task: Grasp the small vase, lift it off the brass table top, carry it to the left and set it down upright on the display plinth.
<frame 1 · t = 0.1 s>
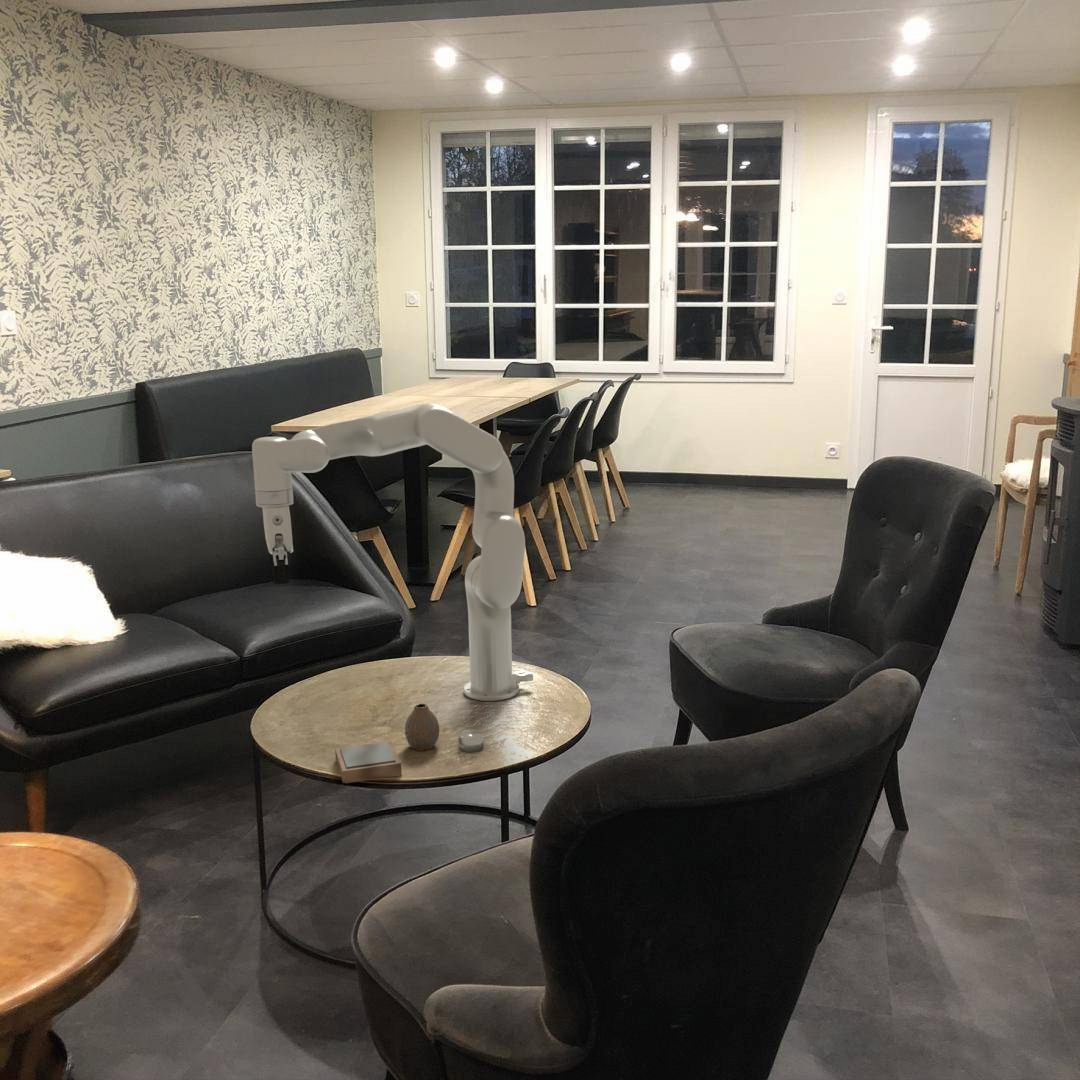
hand: (280, 577, 233), 31 cm above the table, fingers open, 9 cm apart
vase: (422, 747, 224), on the table
tin: (471, 748, 223), on the table
plinth: (368, 767, 214), on the table
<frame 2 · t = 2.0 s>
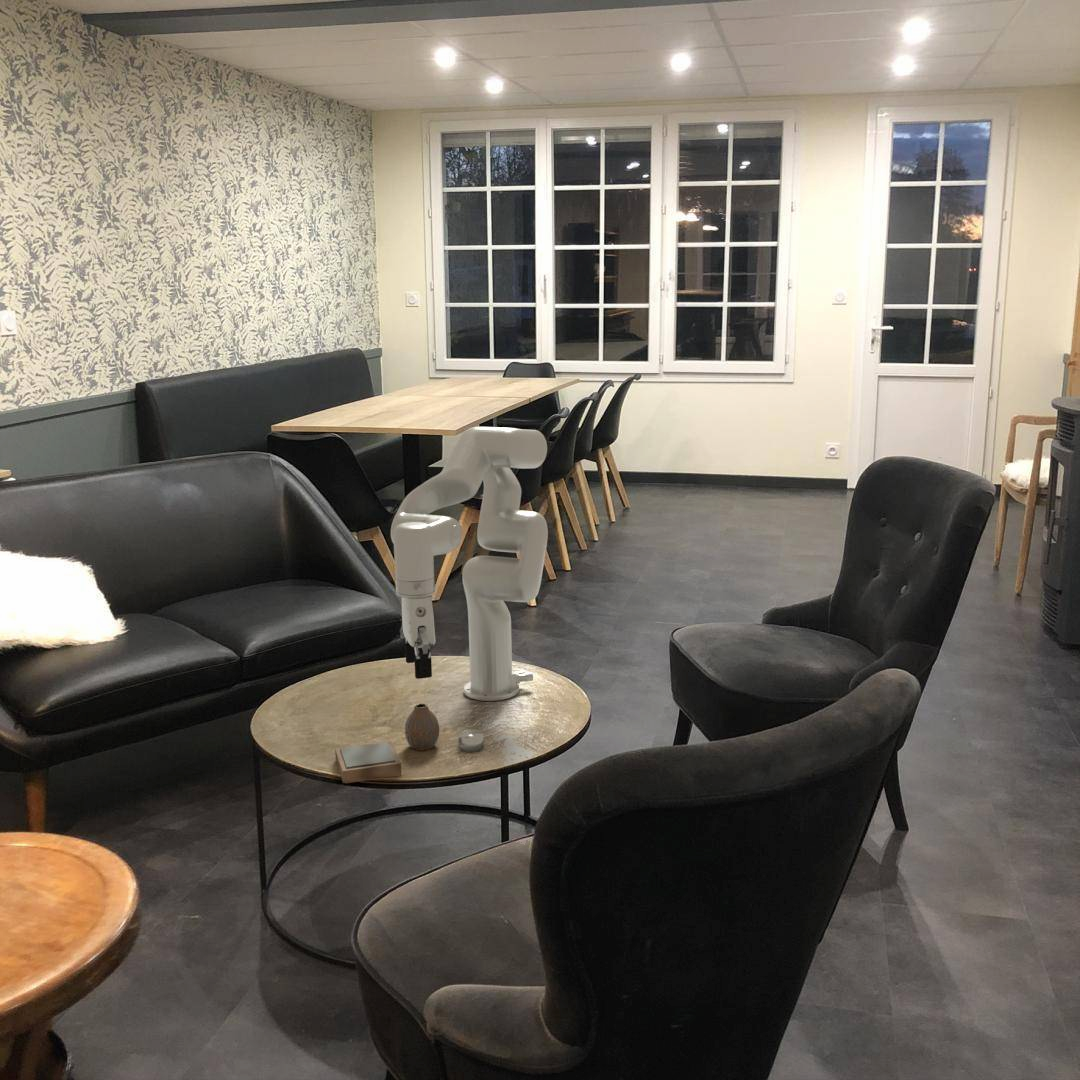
hand: (418, 669, 220), 16 cm above the table, fingers open, 9 cm apart
nothing on the table moved.
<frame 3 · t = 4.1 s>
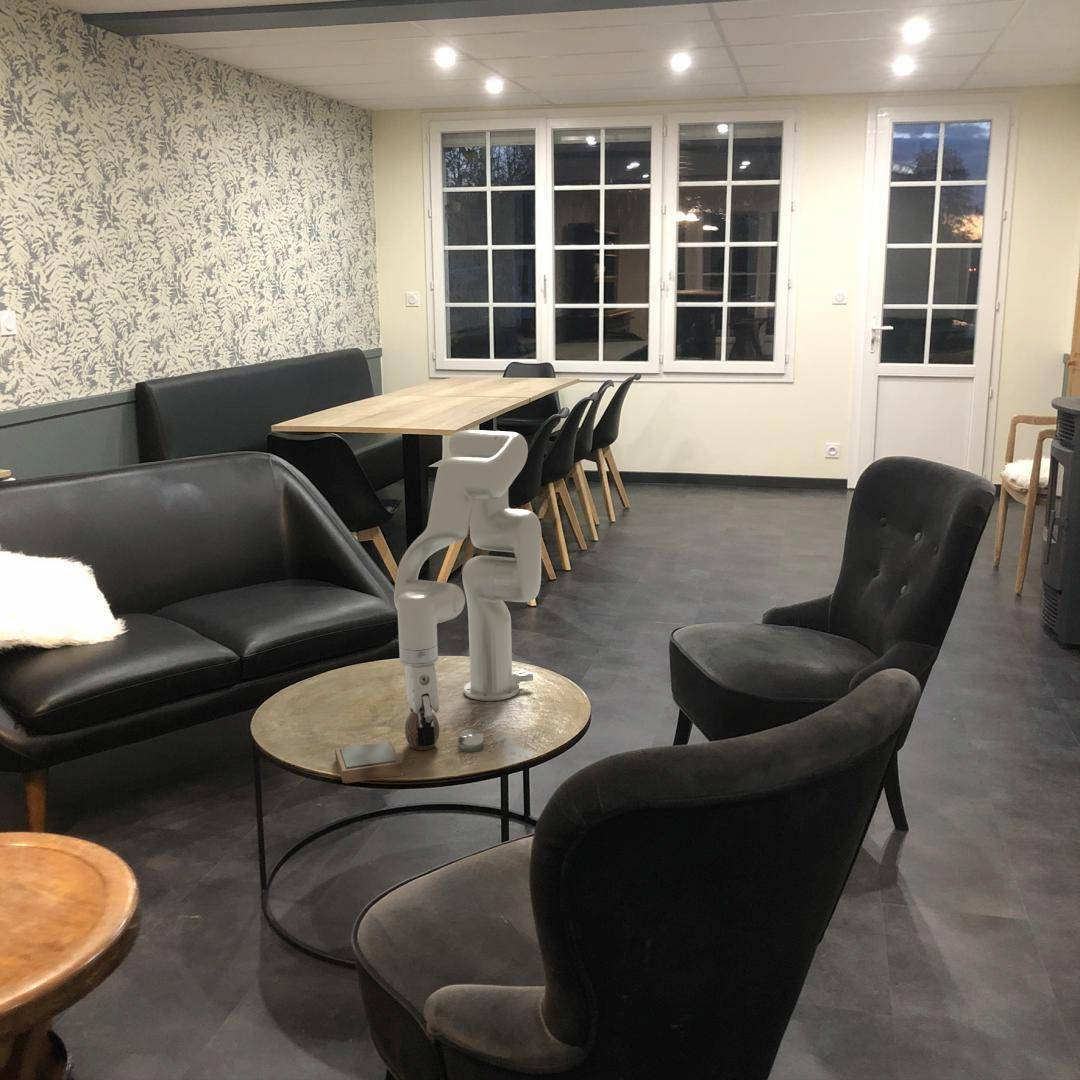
hand: (422, 737, 223), 2 cm above the table, fingers closed on vase, 6 cm apart
vase: (422, 747, 224), on the table, touching gripper
everything else where it was.
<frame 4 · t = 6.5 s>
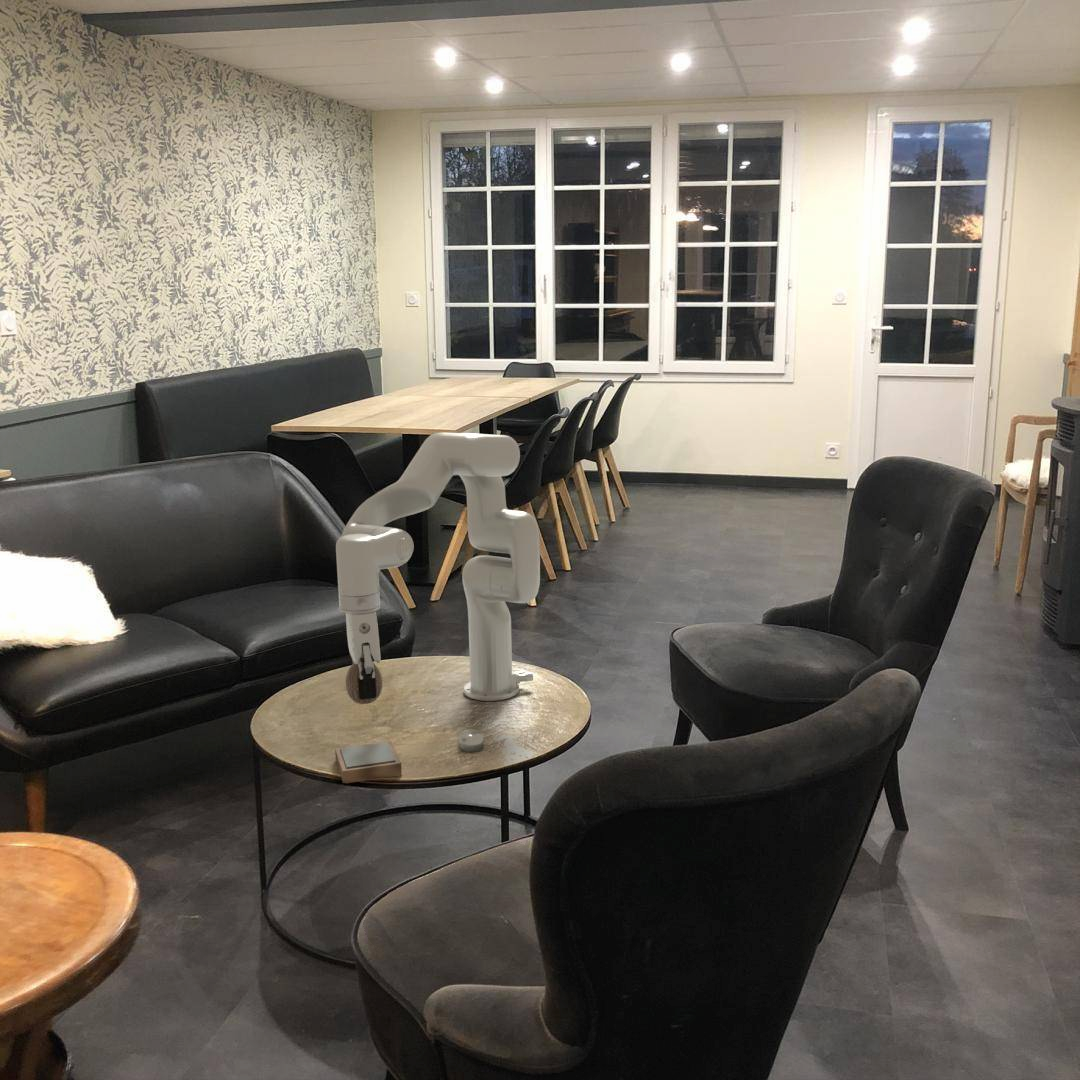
hand: (364, 690, 211), 16 cm above the table, fingers closed on vase, 6 cm apart
vase: (365, 701, 211), point 14 cm above the table, touching gripper
everything else where it was.
when the fingers open (6 cm above the table, at t = 9.2 s): vase stays where it is, resting on plinth.
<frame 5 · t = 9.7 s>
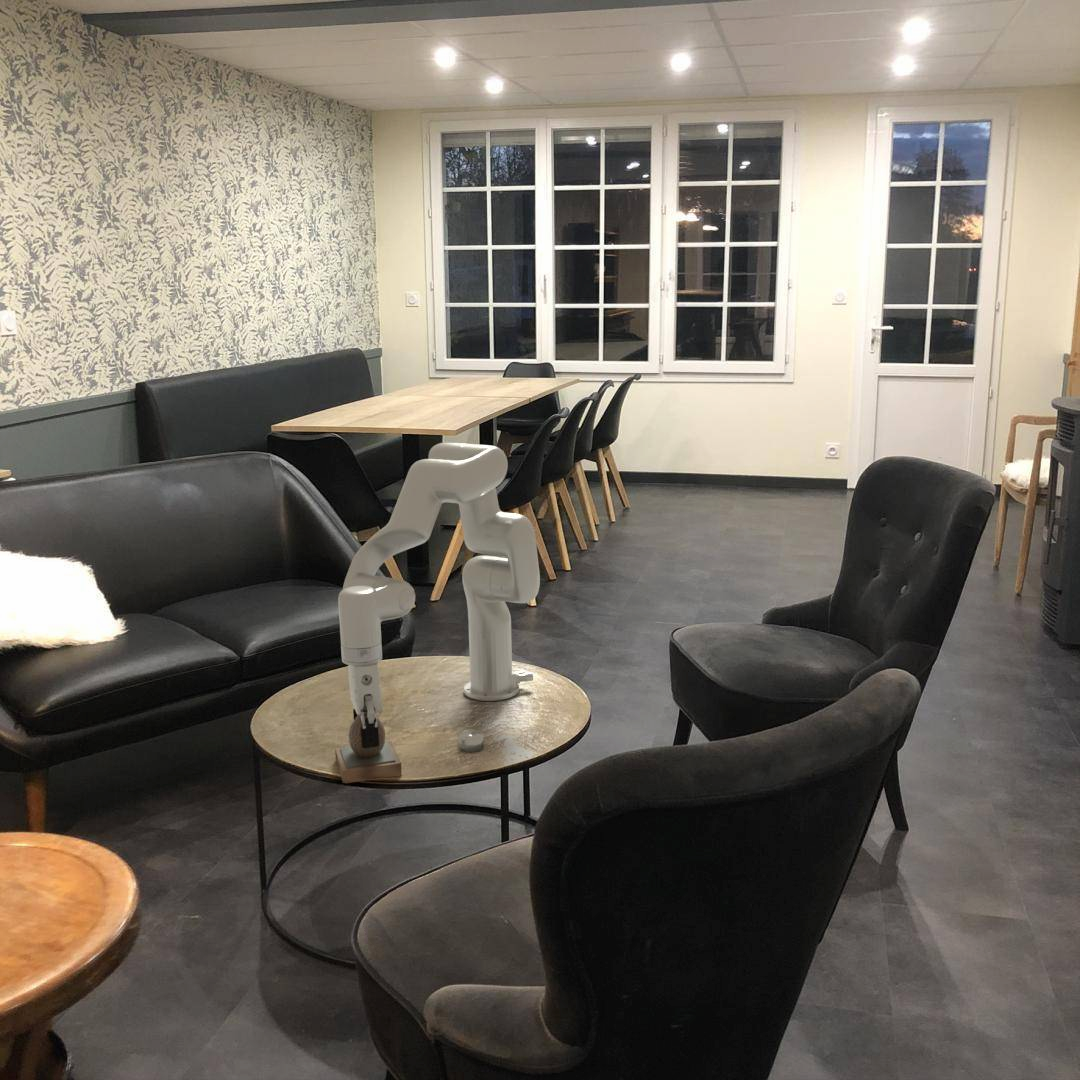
hand: (366, 737, 213), 6 cm above the table, fingers open, 9 cm apart
vase: (368, 754, 214), point 3 cm above the table, touching plinth
everything else where it was.
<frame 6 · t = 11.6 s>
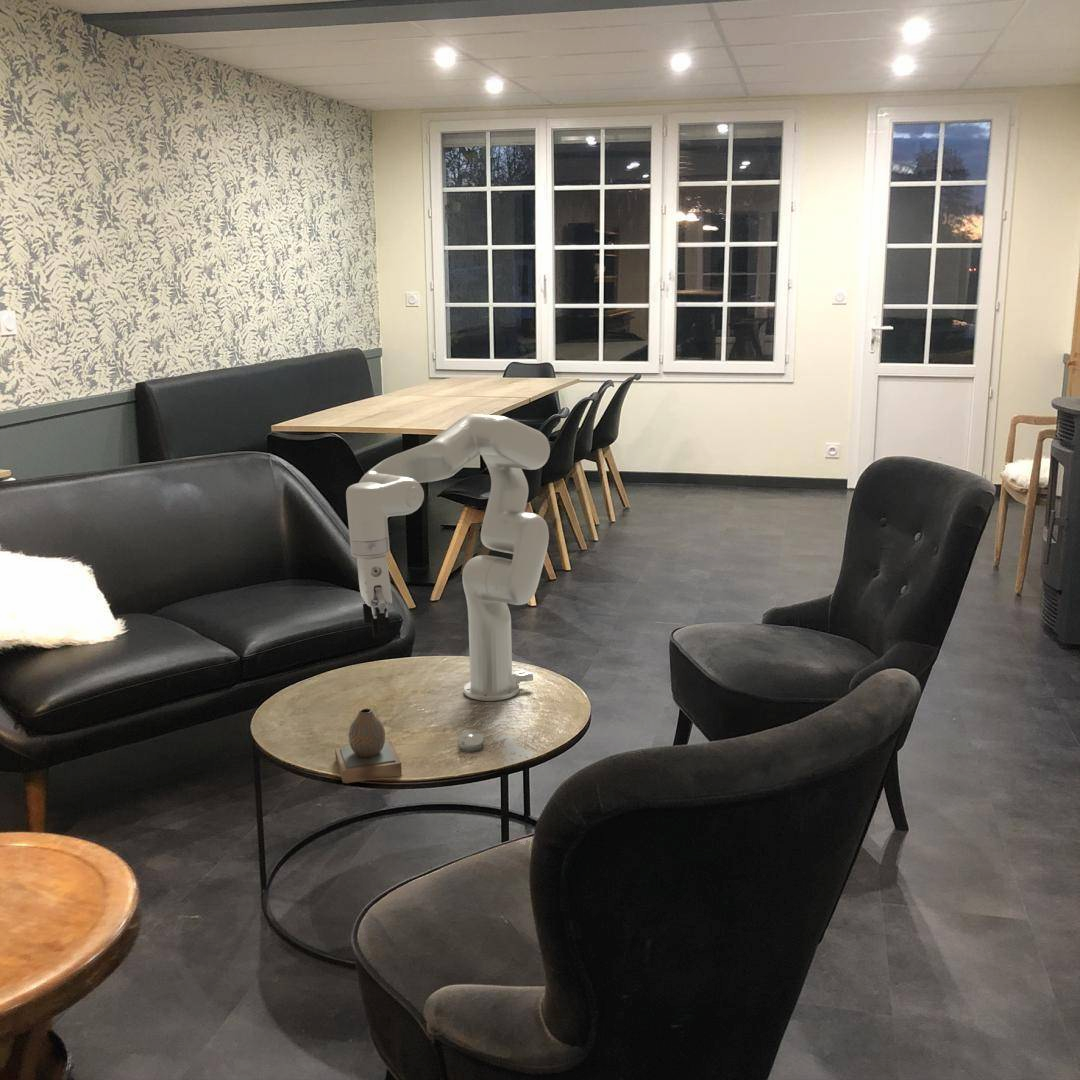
hand: (376, 629, 221), 24 cm above the table, fingers open, 9 cm apart
nothing on the table moved.
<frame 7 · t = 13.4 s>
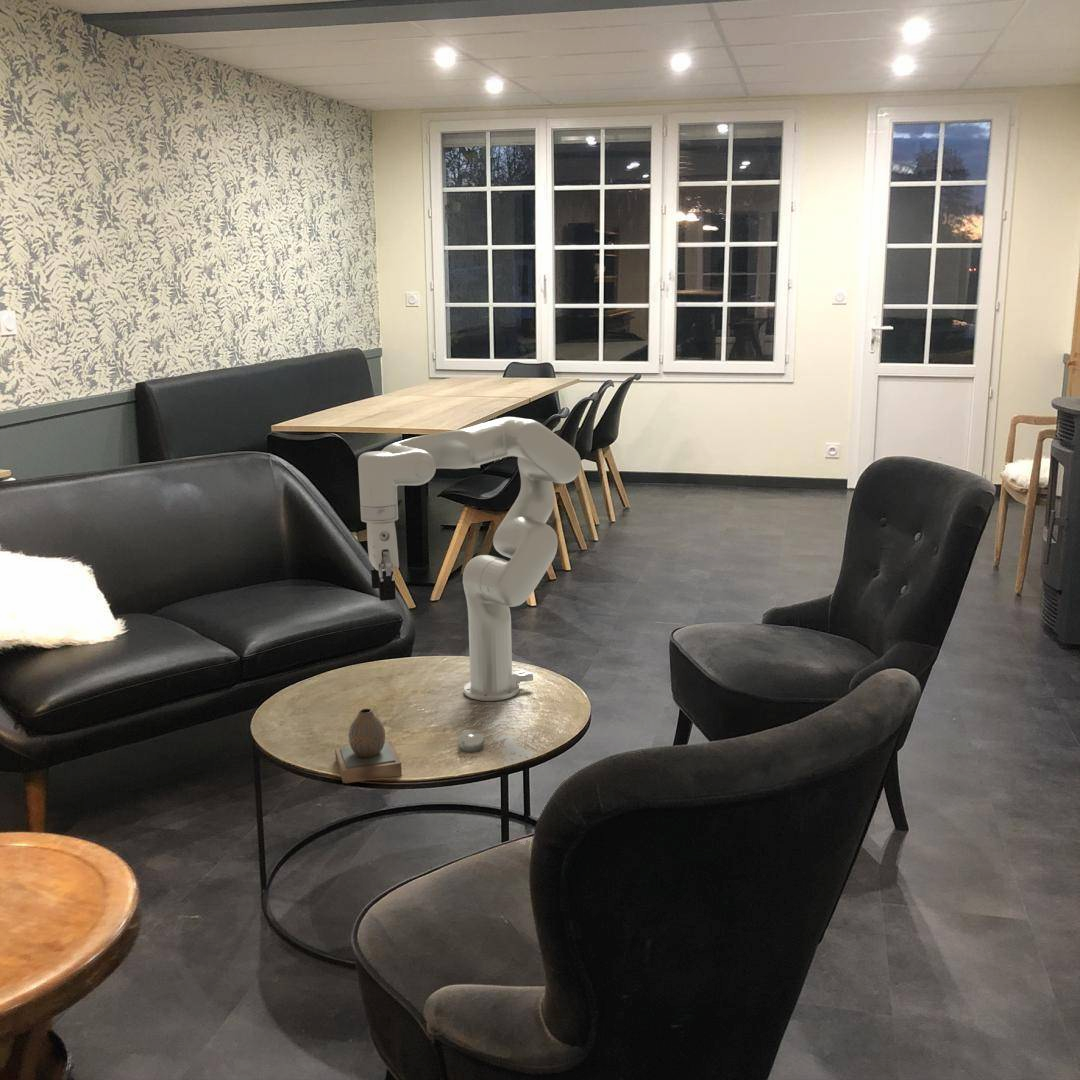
hand: (383, 593, 230), 28 cm above the table, fingers open, 9 cm apart
nothing on the table moved.
at the end: vase inside the target area on the plinth (0.3 cm from its centre), point 2.6 cm above the plinth's base; vase tilted 0°; the gripper is holding nothing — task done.
